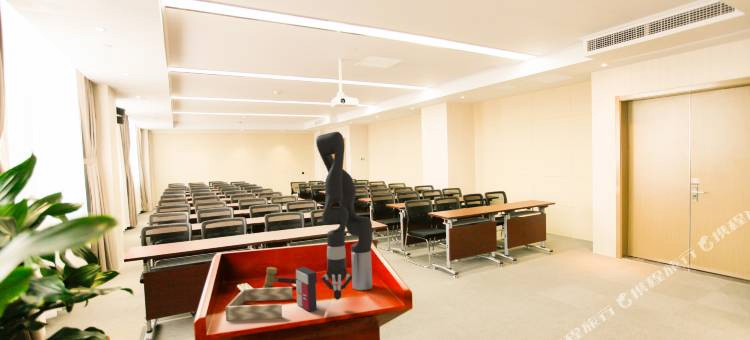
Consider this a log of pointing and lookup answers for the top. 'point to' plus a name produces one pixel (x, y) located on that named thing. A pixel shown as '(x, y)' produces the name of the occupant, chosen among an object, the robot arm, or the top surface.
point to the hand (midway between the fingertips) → (337, 298)
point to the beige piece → (257, 311)
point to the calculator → (306, 288)
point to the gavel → (276, 278)
